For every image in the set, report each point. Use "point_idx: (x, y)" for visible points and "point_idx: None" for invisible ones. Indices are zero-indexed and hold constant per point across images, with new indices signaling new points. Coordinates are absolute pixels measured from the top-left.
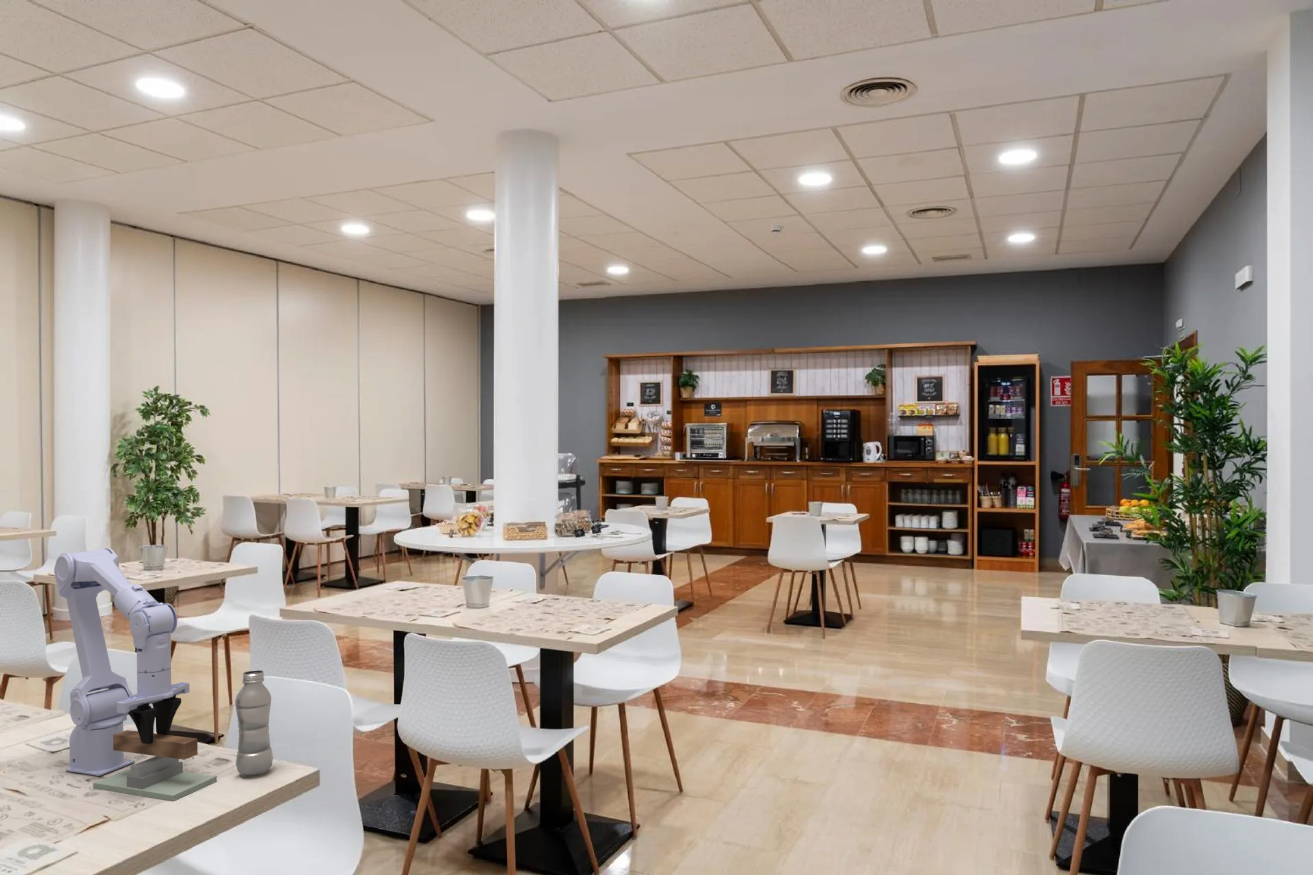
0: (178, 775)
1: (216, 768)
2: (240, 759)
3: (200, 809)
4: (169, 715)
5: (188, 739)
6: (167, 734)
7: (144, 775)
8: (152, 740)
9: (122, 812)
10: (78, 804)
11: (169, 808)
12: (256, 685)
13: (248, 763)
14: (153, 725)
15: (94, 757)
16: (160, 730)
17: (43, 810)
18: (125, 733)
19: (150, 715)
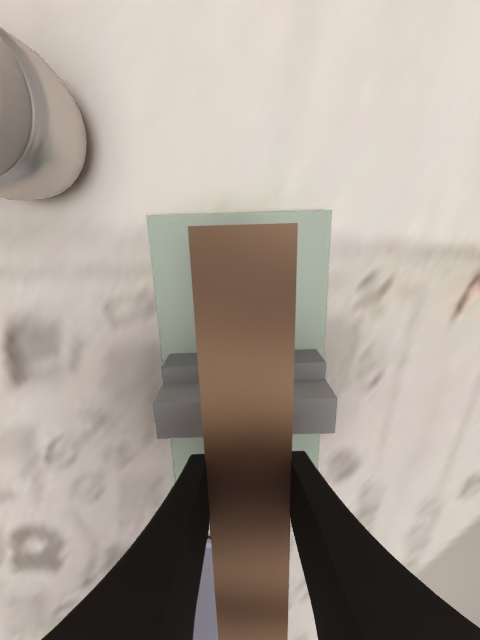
0: (194, 343)
1: (76, 313)
2: (58, 120)
3: (360, 45)
4: (178, 564)
5: (222, 271)
6: (196, 462)
7: (302, 379)
8: (293, 457)
9: (430, 286)
10: (405, 437)
11: (376, 170)
12: None
13: (55, 78)
14: (322, 527)
15: None
16: (205, 513)
17: (451, 476)
18: (256, 625)
19: (441, 628)
